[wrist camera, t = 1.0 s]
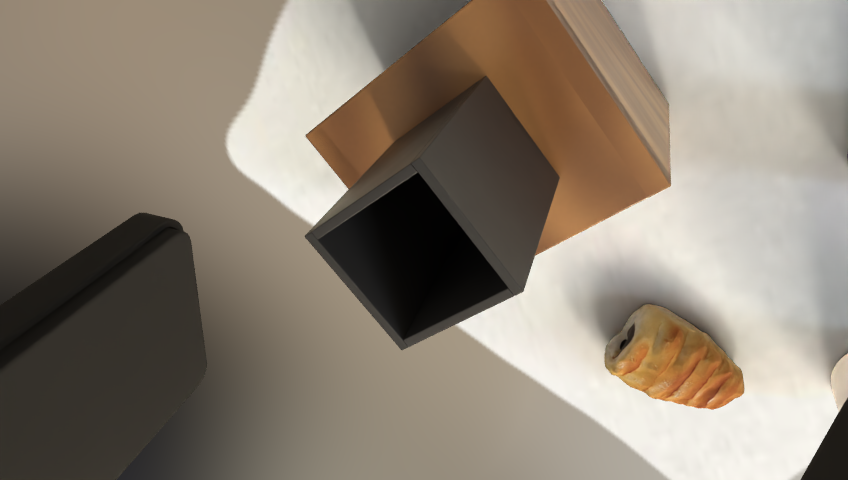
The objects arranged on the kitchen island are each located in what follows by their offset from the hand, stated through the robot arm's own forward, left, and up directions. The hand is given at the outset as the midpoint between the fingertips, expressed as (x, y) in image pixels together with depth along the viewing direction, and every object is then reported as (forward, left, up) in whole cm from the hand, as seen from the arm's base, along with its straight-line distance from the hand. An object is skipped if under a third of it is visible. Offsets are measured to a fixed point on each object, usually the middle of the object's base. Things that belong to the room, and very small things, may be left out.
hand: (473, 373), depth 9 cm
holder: (+8, +2, -22) cm, 23 cm away
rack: (+8, +2, -34) cm, 35 cm away
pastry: (+10, +24, -34) cm, 43 cm away
